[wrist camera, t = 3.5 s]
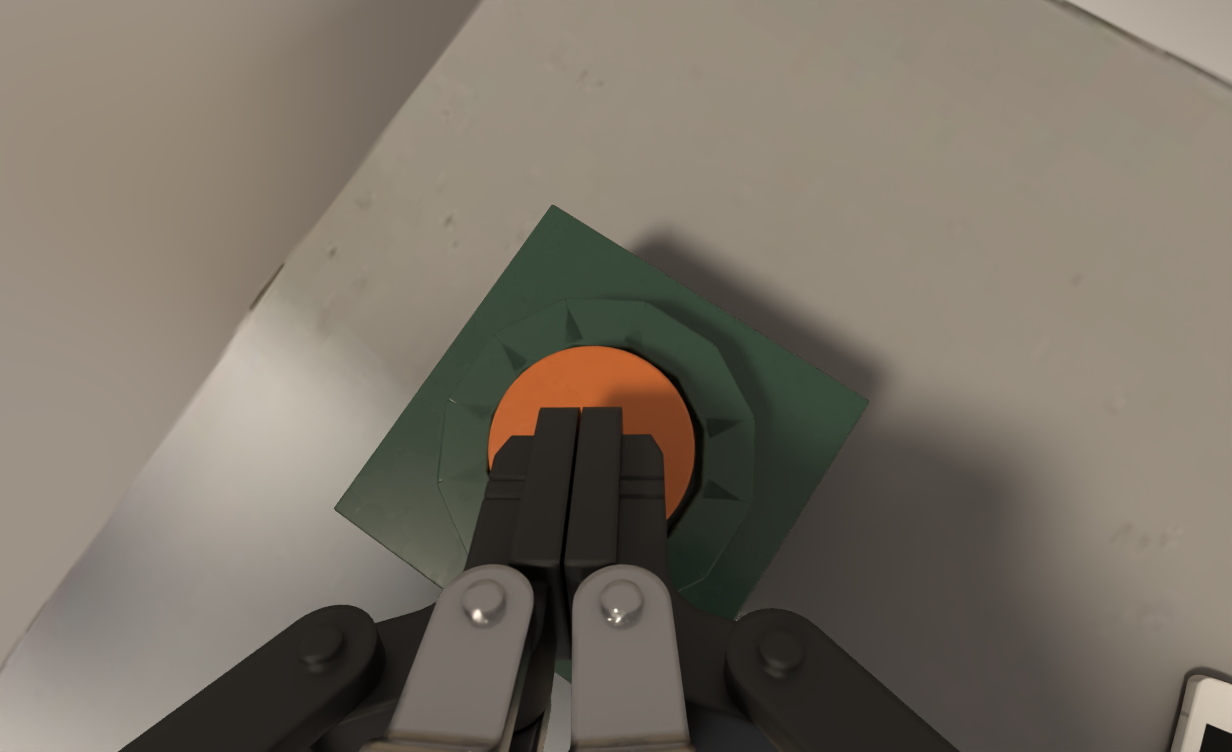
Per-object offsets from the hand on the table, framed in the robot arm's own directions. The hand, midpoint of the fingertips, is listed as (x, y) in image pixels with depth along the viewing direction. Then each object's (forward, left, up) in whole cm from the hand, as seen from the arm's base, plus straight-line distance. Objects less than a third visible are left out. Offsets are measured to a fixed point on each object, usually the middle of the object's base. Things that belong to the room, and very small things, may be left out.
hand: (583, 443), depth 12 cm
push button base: (0, 0, -12) cm, 12 cm away
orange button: (0, 0, -3) cm, 3 cm away
